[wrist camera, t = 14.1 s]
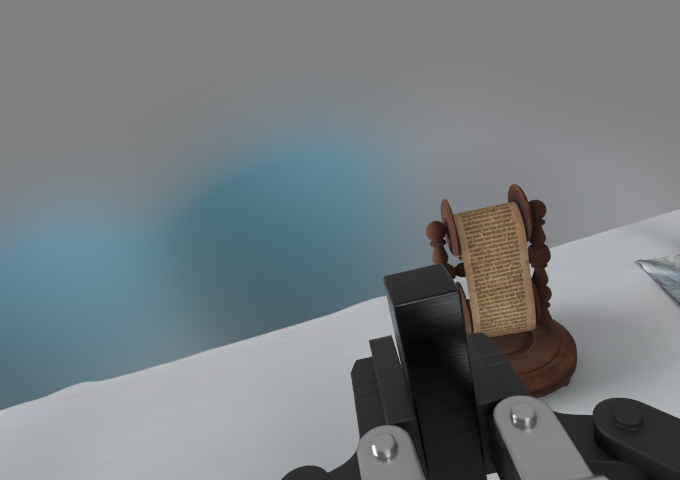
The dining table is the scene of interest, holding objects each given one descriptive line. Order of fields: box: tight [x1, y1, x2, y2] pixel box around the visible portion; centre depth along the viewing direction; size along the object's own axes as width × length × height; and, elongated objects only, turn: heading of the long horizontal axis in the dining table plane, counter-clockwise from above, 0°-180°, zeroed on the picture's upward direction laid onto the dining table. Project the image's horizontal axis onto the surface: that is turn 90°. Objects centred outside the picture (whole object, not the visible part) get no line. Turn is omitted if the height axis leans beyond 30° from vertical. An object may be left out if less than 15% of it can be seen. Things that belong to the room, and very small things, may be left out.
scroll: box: [426, 184, 577, 399], centre depth 47 cm, size 15×15×20 cm
